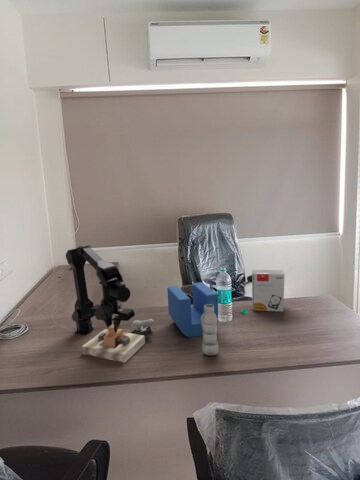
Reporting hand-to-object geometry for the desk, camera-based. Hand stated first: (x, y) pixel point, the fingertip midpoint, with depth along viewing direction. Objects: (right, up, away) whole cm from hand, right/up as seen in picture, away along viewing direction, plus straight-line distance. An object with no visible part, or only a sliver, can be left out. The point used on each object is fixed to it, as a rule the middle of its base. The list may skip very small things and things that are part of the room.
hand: (113, 331), depth 139 cm
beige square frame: (0, -7, +2) cm, 8 cm away
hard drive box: (+73, +2, +35) cm, 81 cm away
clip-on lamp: (+7, -5, +14) cm, 16 cm away
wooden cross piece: (0, -5, +1) cm, 5 cm away
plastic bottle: (+40, -7, -6) cm, 41 cm away
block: (+34, -3, +18) cm, 39 cm away
